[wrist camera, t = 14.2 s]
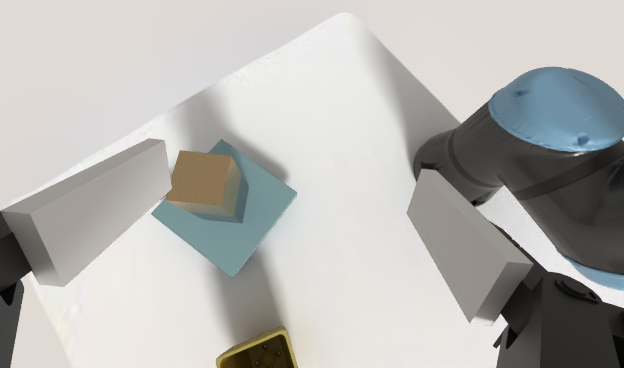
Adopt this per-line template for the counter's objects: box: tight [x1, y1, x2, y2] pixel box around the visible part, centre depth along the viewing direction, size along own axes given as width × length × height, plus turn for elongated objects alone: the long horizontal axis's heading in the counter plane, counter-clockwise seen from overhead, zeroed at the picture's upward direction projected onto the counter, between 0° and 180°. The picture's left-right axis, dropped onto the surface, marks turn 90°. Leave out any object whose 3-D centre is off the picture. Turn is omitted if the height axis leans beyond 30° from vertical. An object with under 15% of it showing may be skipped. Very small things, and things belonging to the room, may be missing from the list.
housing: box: [166, 151, 249, 224], centre depth 34 cm, size 6×6×12 cm
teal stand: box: [151, 139, 297, 278], centre depth 42 cm, size 16×16×4 cm
